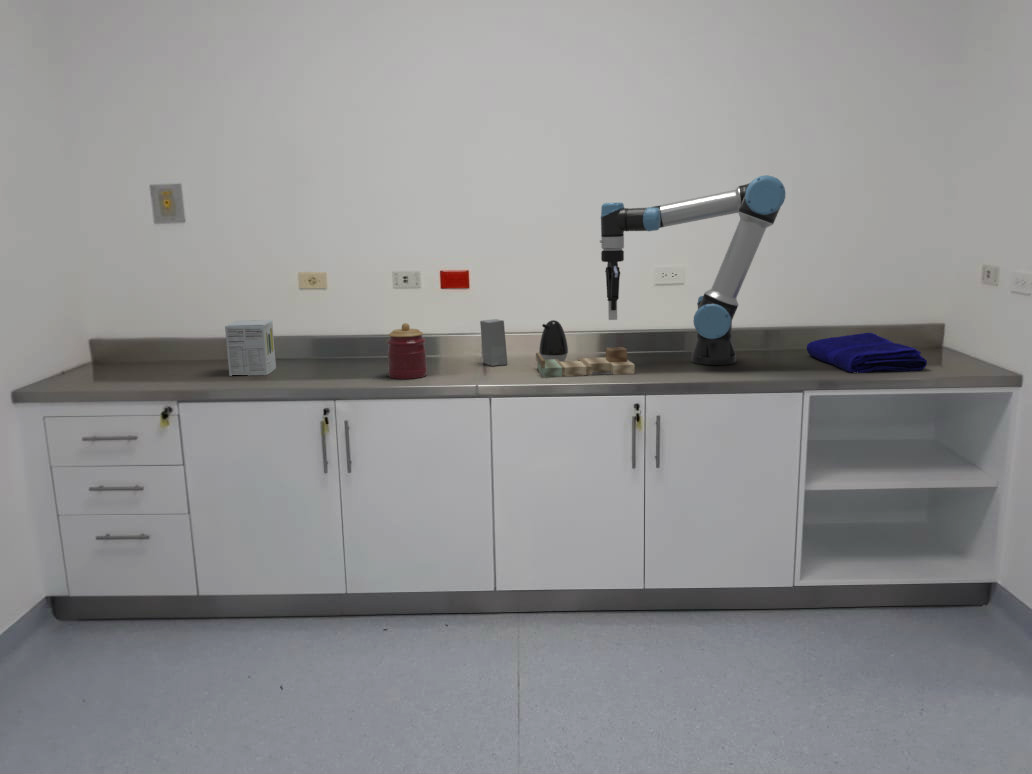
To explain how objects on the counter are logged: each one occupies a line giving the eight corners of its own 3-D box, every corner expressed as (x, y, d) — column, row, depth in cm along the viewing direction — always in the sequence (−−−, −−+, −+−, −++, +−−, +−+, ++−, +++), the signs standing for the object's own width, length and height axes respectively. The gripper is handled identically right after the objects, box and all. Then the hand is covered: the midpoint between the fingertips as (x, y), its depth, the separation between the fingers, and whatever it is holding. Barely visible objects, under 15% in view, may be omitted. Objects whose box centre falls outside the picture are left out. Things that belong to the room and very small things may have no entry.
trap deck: (623, 365, 285) (623, 349, 284) (634, 373, 269) (634, 357, 268) (536, 368, 282) (535, 352, 281) (542, 377, 267) (541, 360, 265)
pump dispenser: (533, 363, 293) (532, 320, 290) (553, 359, 300) (552, 317, 297) (553, 366, 285) (553, 322, 282) (574, 362, 292) (573, 319, 289)
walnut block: (623, 358, 280) (623, 347, 279) (627, 361, 274) (627, 349, 274) (605, 359, 280) (605, 347, 279) (609, 362, 274) (609, 350, 273)
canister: (429, 372, 280) (427, 320, 277) (424, 379, 268) (422, 325, 264) (391, 372, 281) (389, 321, 277) (385, 380, 268) (382, 326, 265)
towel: (849, 375, 262) (851, 347, 260) (802, 356, 296) (804, 332, 295) (929, 372, 263) (931, 345, 262) (873, 354, 298) (875, 330, 296)
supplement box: (268, 375, 281) (263, 324, 277) (228, 376, 280) (224, 325, 276) (277, 368, 294) (273, 319, 290) (239, 369, 293) (235, 320, 289)
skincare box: (507, 365, 290) (506, 320, 287) (488, 366, 287) (487, 321, 284) (499, 361, 298) (498, 317, 295) (480, 363, 295) (479, 319, 292)
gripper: (597, 249, 283) (598, 317, 287) (605, 250, 270) (605, 322, 275) (619, 248, 283) (619, 317, 288) (627, 250, 270) (627, 321, 275)
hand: (612, 319), depth 281 cm, fingers closed
